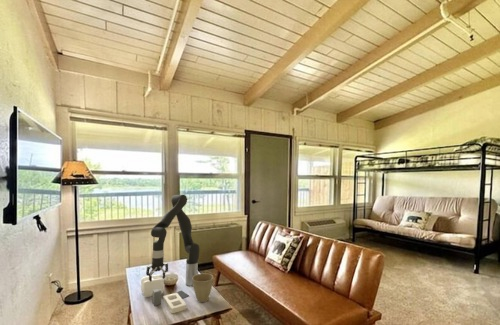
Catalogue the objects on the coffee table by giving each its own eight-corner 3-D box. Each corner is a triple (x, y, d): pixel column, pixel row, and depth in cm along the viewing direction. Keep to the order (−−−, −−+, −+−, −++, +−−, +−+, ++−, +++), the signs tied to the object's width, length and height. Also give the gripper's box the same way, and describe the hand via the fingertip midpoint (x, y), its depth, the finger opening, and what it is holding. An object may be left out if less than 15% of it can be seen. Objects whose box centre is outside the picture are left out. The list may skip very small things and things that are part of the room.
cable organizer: (141, 298, 183) (142, 282, 183) (140, 292, 192) (141, 276, 193) (163, 294, 190) (164, 278, 190) (161, 288, 199) (161, 273, 200)
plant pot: (212, 294, 191) (213, 272, 192) (213, 304, 177) (213, 281, 177) (192, 295, 189) (192, 273, 189) (191, 305, 174) (191, 282, 175)
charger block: (158, 301, 180) (159, 288, 180) (160, 304, 176) (161, 290, 176) (152, 303, 177) (152, 289, 177) (153, 305, 173) (154, 292, 174)
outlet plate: (176, 296, 186) (177, 292, 187) (186, 309, 170) (186, 304, 170) (163, 300, 181) (163, 296, 181) (171, 313, 164) (171, 308, 164)
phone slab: (181, 291, 195) (181, 290, 196) (189, 296, 188) (189, 295, 188) (174, 294, 191) (174, 292, 191) (181, 299, 183) (182, 298, 184)
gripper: (166, 253, 185) (165, 275, 184) (146, 256, 177) (145, 279, 176) (169, 256, 179) (168, 279, 178) (148, 259, 171) (147, 284, 170)
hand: (157, 279), depth 177 cm, fingers open, 8 cm apart
